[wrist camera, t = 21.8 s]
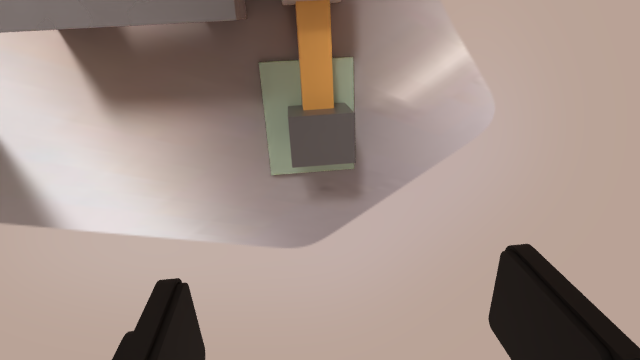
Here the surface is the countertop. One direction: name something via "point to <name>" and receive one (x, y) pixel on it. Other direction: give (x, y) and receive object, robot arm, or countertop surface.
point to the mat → (286, 91)
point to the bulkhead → (112, 13)
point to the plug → (318, 94)
